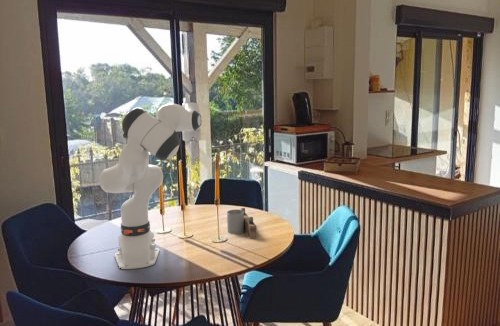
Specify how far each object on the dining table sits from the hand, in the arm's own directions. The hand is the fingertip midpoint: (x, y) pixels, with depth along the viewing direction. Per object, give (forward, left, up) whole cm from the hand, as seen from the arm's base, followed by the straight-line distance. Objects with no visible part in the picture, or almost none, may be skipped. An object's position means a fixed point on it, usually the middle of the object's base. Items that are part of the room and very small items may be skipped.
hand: (193, 164), depth 194 cm
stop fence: (-5, -25, -34) cm, 43 cm away
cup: (-5, -19, -34) cm, 40 cm away
